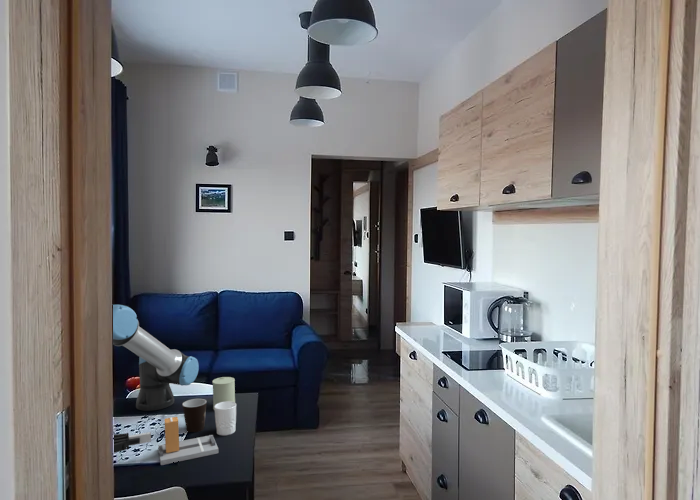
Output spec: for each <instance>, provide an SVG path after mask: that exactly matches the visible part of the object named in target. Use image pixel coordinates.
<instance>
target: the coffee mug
mask: <svg viewBox="0 0 700 500" xmlns="http://www.w3.org/2000/svg"><path fill="white" fill-rule="evenodd" d="M207 402H208V401H207V399H204V398H192V399H188V400H186V401H183V402H182V409H183V416H184V424H185V429H186V430H187V431H188V432H187V431H186V430H185V431H186V432H187V433H190V432H195V433H198V432H201V431H203V430H204V429H205V423H206V411H207Z"/></svg>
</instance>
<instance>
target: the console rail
mask: <svg viewBox="0 0 700 500" xmlns="http://www.w3.org/2000/svg"><path fill="white" fill-rule="evenodd" d="M157 449H159V450H158V455H159V462H160V466H164V465H169V464H174V463H177V462H178V461H179V462H183V461H187V460H188V461H189V460H193V459H197V458H202V457H203V458H204V457H207V456H213V455H216V454H219V447H218V445H217V442H216V440H215V437H214V434H209V435H205V436H200V437H196V438H195V437H194V438H190V439H185V440H179V451H174V452H169V453H166V448H165V443H164V444H159V445H158V447H157ZM173 462H174V463H173Z"/></svg>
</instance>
